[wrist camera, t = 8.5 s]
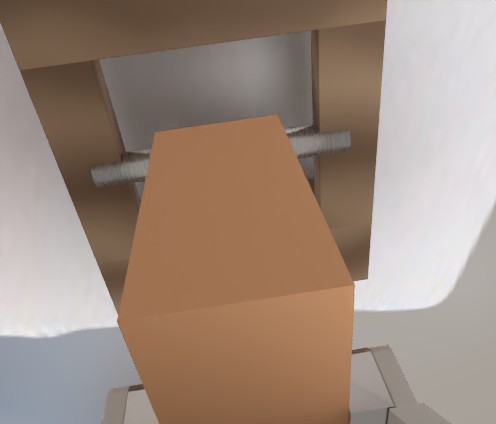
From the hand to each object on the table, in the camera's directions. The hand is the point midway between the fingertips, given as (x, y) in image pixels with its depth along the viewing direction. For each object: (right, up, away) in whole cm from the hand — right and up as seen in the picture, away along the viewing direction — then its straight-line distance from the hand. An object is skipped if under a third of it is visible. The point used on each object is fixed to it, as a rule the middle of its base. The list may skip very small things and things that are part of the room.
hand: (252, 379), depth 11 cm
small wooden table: (-3, +13, +19) cm, 23 cm away
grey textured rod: (-2, +8, +12) cm, 14 cm away
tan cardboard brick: (-1, +4, +5) cm, 6 cm away
